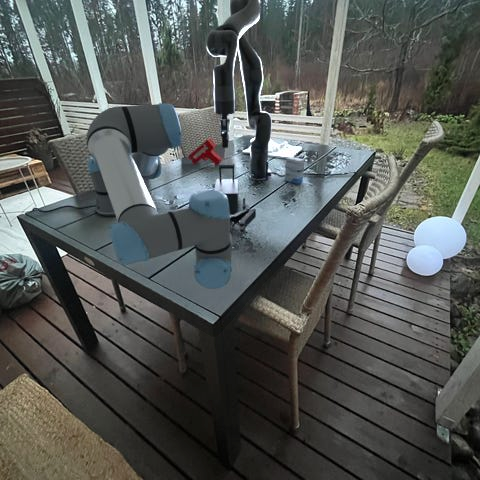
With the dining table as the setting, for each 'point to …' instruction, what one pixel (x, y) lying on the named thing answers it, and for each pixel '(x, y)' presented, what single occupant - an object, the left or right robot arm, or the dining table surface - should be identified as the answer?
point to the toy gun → (205, 153)
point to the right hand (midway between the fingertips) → (225, 144)
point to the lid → (227, 183)
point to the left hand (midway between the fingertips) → (222, 202)
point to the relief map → (280, 150)
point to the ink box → (294, 170)
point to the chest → (233, 204)
